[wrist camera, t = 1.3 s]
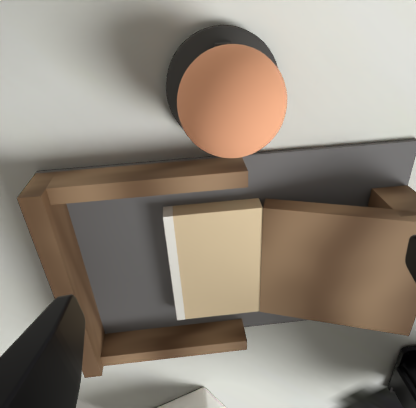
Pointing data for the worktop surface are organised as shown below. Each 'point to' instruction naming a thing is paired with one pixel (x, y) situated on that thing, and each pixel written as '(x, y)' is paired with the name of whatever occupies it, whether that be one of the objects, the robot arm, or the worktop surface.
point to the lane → (214, 235)
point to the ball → (231, 101)
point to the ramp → (341, 261)
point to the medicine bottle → (195, 400)
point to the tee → (199, 45)
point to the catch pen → (74, 265)
